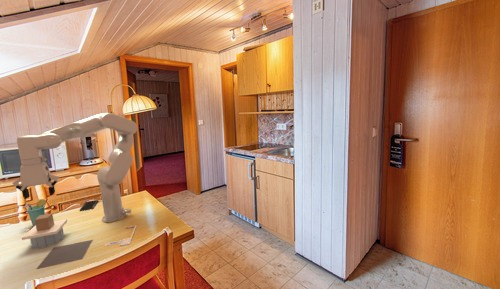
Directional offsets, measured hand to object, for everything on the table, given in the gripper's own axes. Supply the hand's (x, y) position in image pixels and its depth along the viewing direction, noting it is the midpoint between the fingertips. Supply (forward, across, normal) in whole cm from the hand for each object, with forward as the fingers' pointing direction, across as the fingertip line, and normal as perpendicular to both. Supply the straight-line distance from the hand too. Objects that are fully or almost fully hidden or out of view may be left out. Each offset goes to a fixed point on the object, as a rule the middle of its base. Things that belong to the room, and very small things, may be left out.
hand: (39, 196), depth 110 cm
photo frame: (+25, -32, +10) cm, 42 cm away
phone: (+25, -6, -44) cm, 51 cm away
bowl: (+24, 0, 0) cm, 24 cm away
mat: (+24, -13, +16) cm, 32 cm away
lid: (+18, 0, 0) cm, 18 cm away
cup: (+24, +14, -24) cm, 37 cm away
